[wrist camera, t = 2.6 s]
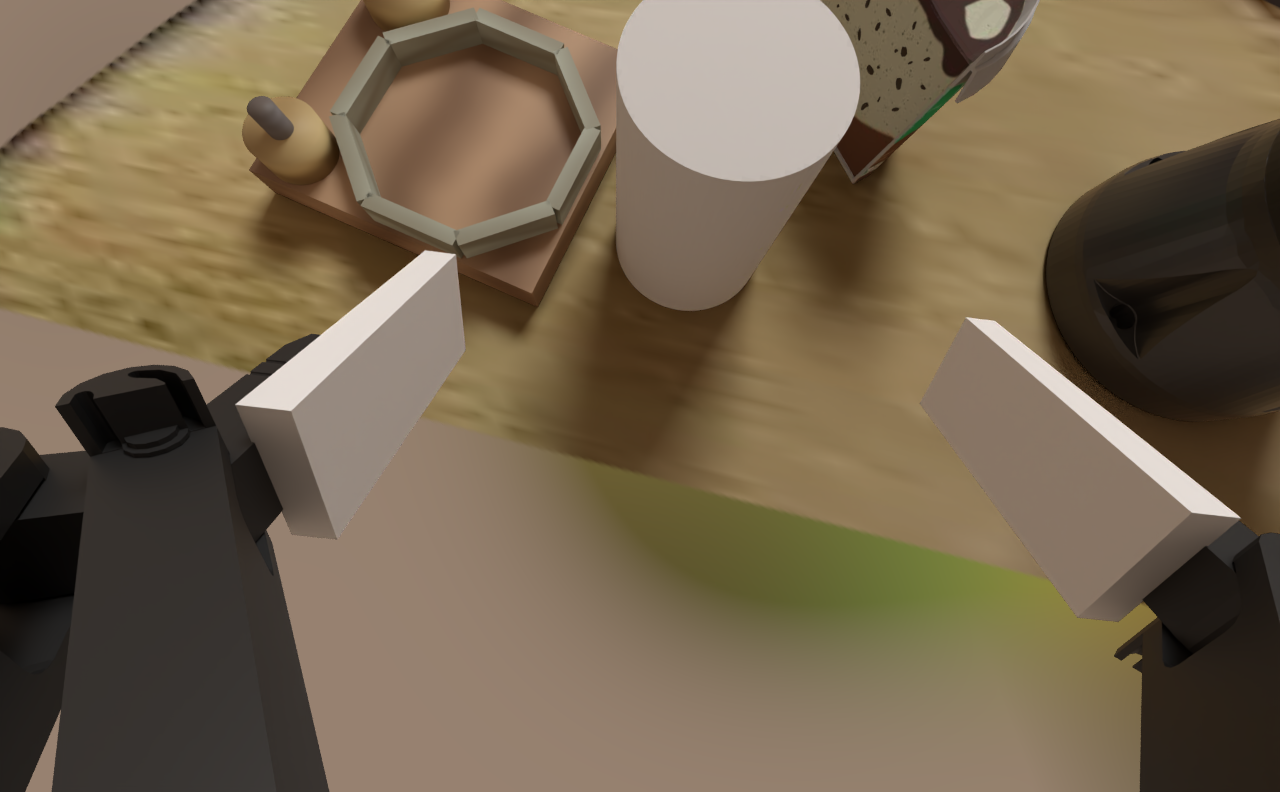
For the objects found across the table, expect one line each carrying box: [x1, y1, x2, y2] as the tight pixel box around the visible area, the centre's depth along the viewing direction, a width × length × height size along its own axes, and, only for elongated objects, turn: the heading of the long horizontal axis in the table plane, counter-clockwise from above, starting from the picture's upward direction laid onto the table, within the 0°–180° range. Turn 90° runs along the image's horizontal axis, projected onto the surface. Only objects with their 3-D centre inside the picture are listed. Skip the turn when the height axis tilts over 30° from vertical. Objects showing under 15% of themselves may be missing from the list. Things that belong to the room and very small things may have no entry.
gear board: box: [242, 0, 618, 307], centre depth 26 cm, size 16×15×5 cm
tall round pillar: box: [616, 0, 860, 311], centre depth 22 cm, size 8×8×12 cm
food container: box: [820, 0, 1039, 184], centre depth 25 cm, size 12×6×10 cm, turn 25°
